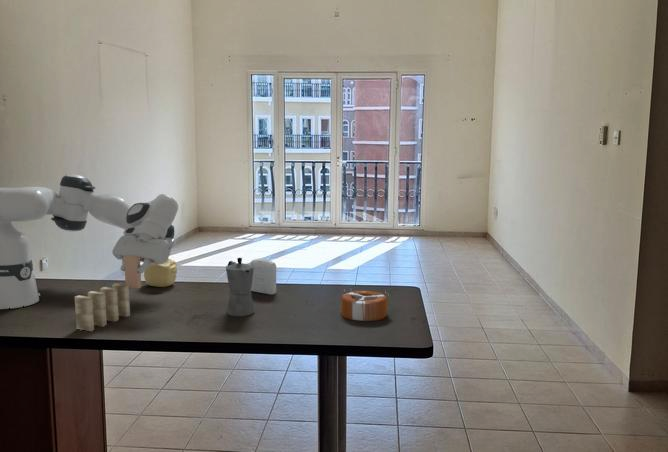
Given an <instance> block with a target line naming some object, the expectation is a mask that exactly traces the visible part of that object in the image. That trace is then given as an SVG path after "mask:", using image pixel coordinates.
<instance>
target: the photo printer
mask: <svg viewBox="0 0 668 452" xmlns="http://www.w3.org/2000/svg"><path fill="white" fill-rule="evenodd" d="M249 265H253V266H254V271H253V279H252V287H251V292H255V293H259V294H261V293H262V294H265V295H275V294H276V293H277V264H276V263H275V262H274V261H272V260H270V259H267V258H255V259H252V260H251V261H250V262H249Z"/></svg>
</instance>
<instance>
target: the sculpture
mask: <svg viewBox="0 0 668 452" xmlns="http://www.w3.org/2000/svg"><path fill="white" fill-rule="evenodd" d="M177 266H178V265H177V261H175V260H172V259H170V258H168V260H167V262H166V263H164V264H157V263H151V265H150V266H149V267H147V268H146V269H145V270H144V272H143V277H144V281H145V283H146V284H147V285H148V286H151V287H159V288H165V287H166V288H167V287H169V286H171V285H173V284H174V283H175V281H176V278H177V273H178V268H177Z"/></svg>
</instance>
